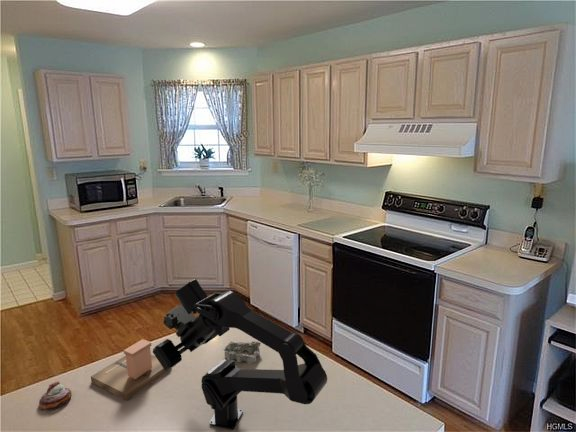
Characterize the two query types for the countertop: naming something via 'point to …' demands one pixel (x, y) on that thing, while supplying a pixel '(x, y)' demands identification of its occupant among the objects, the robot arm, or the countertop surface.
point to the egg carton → (241, 347)
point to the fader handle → (138, 358)
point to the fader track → (126, 378)
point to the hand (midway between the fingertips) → (174, 354)
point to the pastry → (55, 397)
